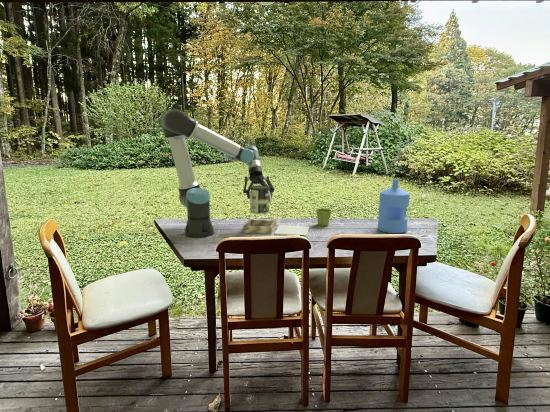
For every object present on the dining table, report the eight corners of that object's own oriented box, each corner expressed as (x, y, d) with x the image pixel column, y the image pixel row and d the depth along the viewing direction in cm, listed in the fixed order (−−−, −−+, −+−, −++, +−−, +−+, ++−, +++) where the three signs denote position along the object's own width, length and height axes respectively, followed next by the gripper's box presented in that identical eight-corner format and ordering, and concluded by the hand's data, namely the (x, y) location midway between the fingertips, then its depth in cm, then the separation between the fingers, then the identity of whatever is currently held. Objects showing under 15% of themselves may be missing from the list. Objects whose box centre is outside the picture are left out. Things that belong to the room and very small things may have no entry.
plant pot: (319, 221, 229) (319, 207, 227) (333, 224, 224) (334, 209, 223) (312, 225, 221) (312, 210, 219) (327, 227, 217) (328, 212, 215)
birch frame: (243, 232, 207) (243, 226, 206) (249, 224, 222) (249, 219, 221) (271, 233, 204) (271, 227, 204) (276, 226, 219) (276, 220, 218)
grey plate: (274, 234, 203) (274, 233, 203) (279, 226, 220) (279, 225, 219) (306, 236, 201) (306, 235, 200) (309, 227, 217) (309, 226, 217)
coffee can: (270, 210, 215) (271, 185, 212) (266, 215, 205) (267, 188, 202) (252, 209, 217) (253, 184, 214) (248, 213, 207) (248, 187, 204)
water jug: (371, 228, 216) (374, 178, 210) (392, 224, 223) (395, 177, 217) (391, 235, 203) (395, 182, 197) (413, 231, 210) (417, 180, 204)
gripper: (272, 173, 224) (279, 205, 213) (234, 174, 218) (239, 207, 207) (275, 165, 218) (282, 197, 207) (236, 165, 212) (241, 199, 201)
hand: (261, 202), depth 207 cm, fingers closed on coffee can, 10 cm apart
